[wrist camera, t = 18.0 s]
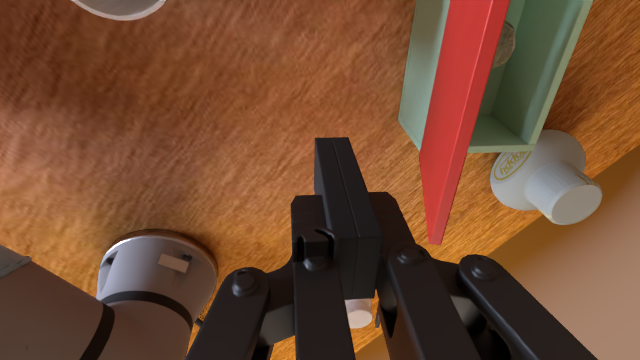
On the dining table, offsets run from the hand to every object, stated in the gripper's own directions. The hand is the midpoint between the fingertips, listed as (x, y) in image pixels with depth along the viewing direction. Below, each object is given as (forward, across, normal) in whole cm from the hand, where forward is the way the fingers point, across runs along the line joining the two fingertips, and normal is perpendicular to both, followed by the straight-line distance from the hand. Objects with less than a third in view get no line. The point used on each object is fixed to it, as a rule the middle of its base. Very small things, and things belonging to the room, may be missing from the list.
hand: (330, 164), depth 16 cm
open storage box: (+23, -17, 0) cm, 29 cm away
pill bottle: (+23, -7, +33) cm, 41 cm away
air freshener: (+23, -28, +14) cm, 39 cm away
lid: (+8, -10, 0) cm, 13 cm away
